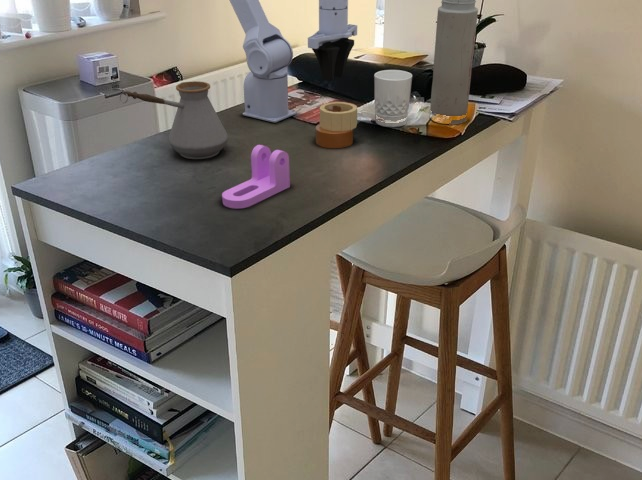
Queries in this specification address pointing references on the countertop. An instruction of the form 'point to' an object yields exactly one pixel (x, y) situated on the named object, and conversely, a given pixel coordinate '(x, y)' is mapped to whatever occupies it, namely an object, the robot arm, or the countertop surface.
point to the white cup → (392, 96)
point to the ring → (338, 117)
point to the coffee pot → (192, 121)
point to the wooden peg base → (333, 135)
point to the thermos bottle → (453, 58)
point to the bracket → (260, 179)
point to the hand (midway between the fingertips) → (333, 78)
